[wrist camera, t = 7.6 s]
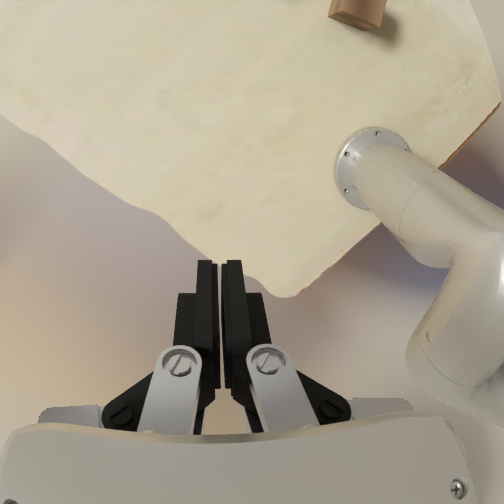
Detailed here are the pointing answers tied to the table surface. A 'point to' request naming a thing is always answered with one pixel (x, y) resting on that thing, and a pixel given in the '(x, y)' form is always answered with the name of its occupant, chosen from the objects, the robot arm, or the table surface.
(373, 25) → the walnut block
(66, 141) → the table surface
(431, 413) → the robot arm
